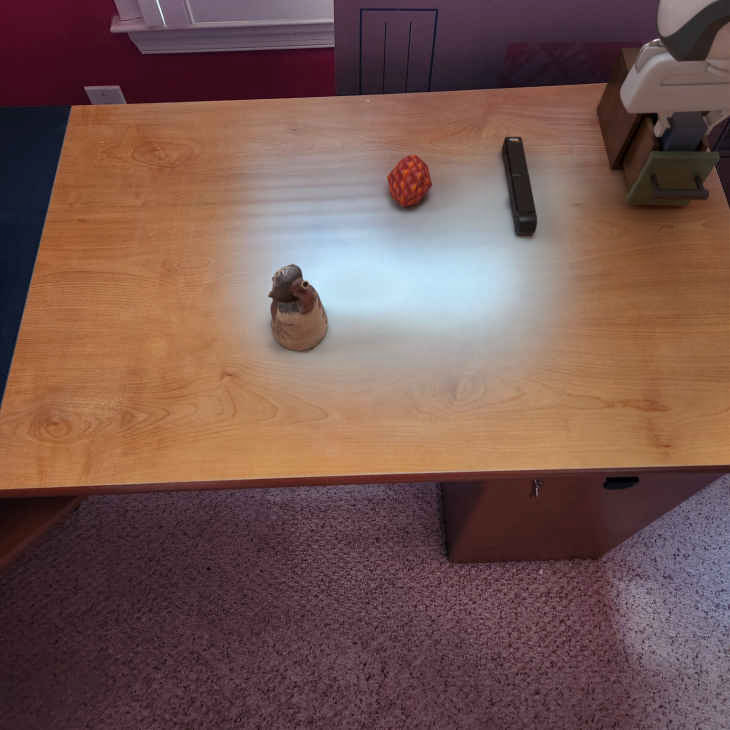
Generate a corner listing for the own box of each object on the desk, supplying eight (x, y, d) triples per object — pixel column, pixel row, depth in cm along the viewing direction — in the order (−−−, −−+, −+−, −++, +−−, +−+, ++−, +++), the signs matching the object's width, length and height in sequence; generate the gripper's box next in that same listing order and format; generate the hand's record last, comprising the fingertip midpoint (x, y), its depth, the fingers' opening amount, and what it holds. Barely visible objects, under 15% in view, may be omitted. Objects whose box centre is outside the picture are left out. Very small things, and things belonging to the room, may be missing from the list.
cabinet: (676, 170, 88) (713, 111, 79) (610, 169, 88) (639, 110, 79) (657, 110, 94) (689, 48, 85) (596, 109, 95) (621, 47, 85)
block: (683, 132, 80) (698, 107, 77) (692, 152, 78) (708, 128, 75) (655, 133, 80) (668, 108, 77) (663, 153, 78) (677, 129, 75)
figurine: (304, 296, 78) (294, 237, 67) (339, 329, 75) (334, 273, 65) (262, 326, 75) (245, 270, 65) (296, 362, 73) (284, 309, 62)
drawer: (694, 226, 82) (728, 179, 74) (631, 225, 82) (659, 178, 74) (668, 144, 89) (697, 94, 82) (611, 144, 90) (634, 93, 82)
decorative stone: (385, 211, 88) (399, 162, 88) (428, 218, 86) (441, 167, 86) (375, 194, 81) (389, 141, 82) (420, 201, 79) (435, 147, 80)
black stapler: (533, 238, 82) (539, 223, 79) (515, 238, 82) (520, 223, 79) (517, 148, 90) (521, 132, 88) (500, 148, 90) (504, 133, 88)
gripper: (655, 53, 64) (609, 152, 76) (837, 47, 64) (762, 147, 76) (639, 19, 67) (598, 119, 79) (814, 13, 67) (745, 114, 79)
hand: (680, 133), depth 78 cm, fingers closed on block, 4 cm apart
